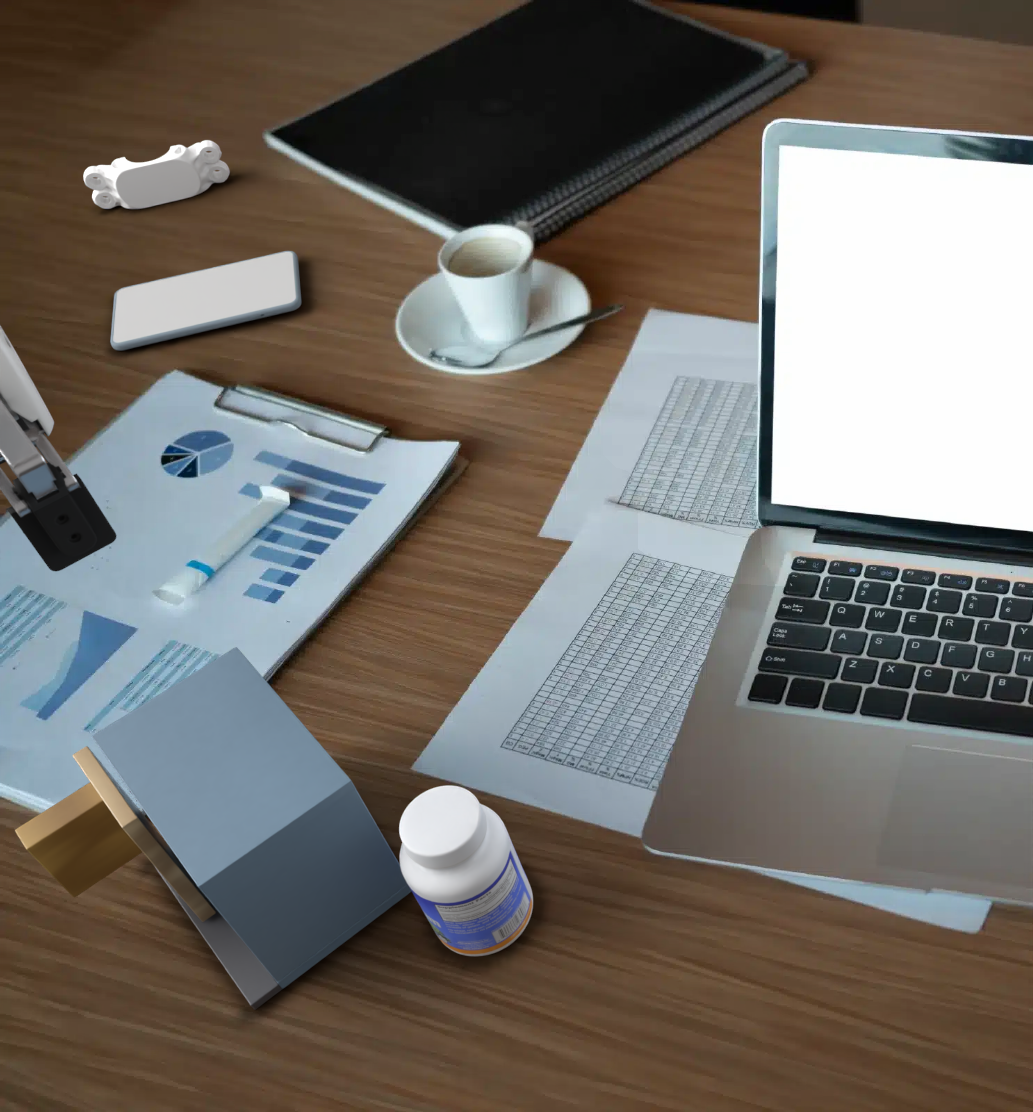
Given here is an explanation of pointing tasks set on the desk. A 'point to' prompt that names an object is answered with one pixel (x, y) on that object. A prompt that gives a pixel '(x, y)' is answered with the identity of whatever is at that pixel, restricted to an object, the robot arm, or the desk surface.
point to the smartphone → (205, 300)
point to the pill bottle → (464, 871)
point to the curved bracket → (157, 177)
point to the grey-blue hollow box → (255, 823)
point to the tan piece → (102, 838)
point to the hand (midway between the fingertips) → (45, 503)
